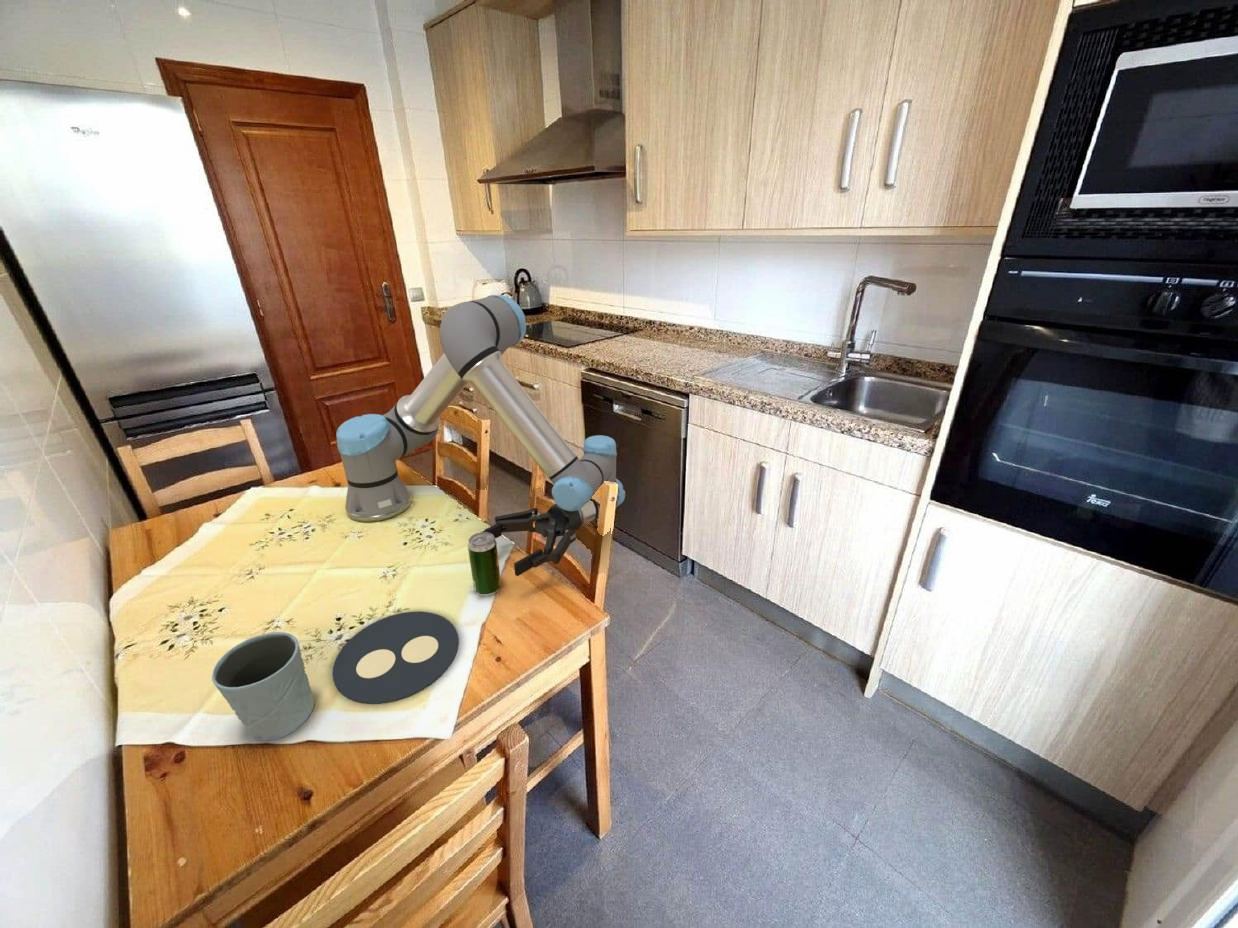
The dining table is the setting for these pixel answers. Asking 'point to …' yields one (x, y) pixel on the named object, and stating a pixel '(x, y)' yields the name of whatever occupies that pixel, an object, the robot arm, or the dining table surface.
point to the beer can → (484, 563)
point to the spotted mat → (395, 657)
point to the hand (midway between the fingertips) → (494, 555)
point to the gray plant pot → (266, 685)
